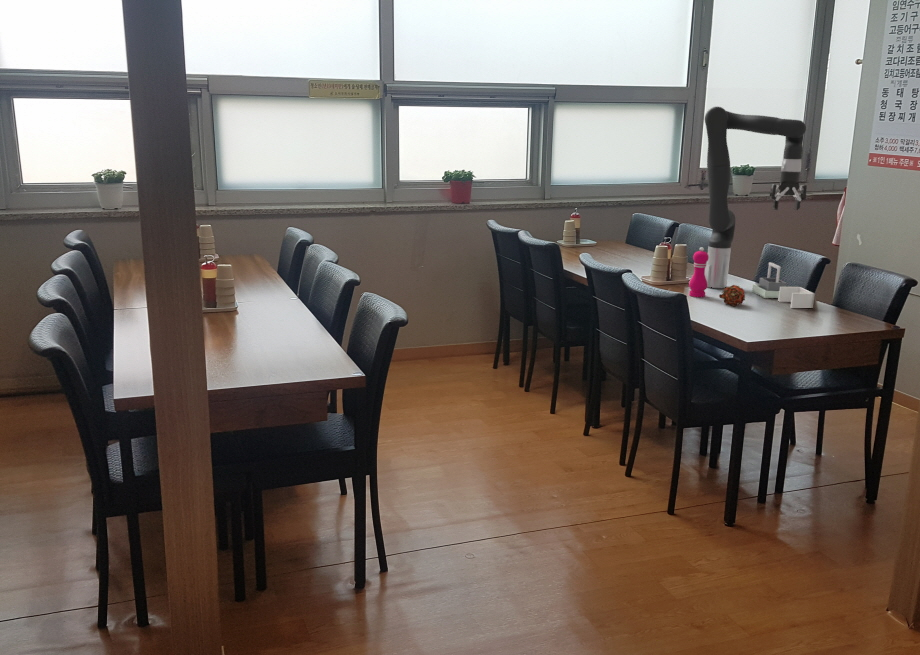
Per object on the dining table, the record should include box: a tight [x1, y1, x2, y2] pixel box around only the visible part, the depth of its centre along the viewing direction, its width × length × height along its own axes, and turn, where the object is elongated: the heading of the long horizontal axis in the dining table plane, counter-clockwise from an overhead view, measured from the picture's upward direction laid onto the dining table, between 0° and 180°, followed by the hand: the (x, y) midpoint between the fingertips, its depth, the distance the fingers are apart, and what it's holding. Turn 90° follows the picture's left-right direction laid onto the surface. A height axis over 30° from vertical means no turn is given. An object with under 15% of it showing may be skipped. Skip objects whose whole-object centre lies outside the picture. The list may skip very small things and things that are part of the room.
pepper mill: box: [688, 246, 709, 298], centre depth 324 cm, size 7×7×20 cm
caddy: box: [758, 262, 787, 291], centre depth 329 cm, size 7×10×12 cm
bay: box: [777, 286, 816, 309], centre depth 312 cm, size 8×13×6 cm, turn 1°
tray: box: [751, 284, 779, 300], centre depth 330 cm, size 11×14×3 cm
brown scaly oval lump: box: [718, 284, 746, 307], centre depth 311 cm, size 8×8×12 cm
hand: (785, 210), depth 332 cm, fingers open, 8 cm apart
